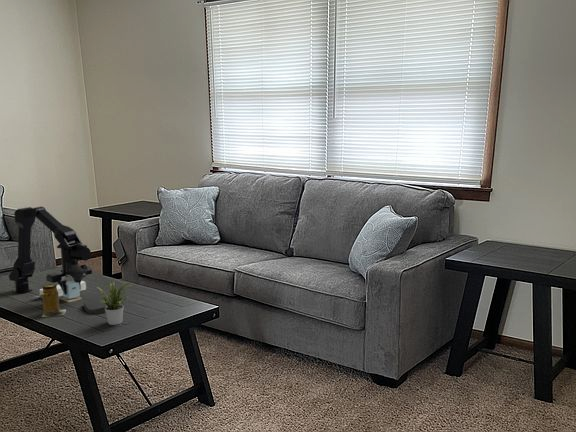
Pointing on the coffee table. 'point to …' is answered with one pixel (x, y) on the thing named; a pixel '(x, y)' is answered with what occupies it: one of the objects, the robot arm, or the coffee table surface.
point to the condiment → (51, 301)
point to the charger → (72, 289)
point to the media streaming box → (96, 305)
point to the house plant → (114, 304)
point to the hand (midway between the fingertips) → (71, 292)
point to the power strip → (60, 290)
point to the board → (71, 299)
